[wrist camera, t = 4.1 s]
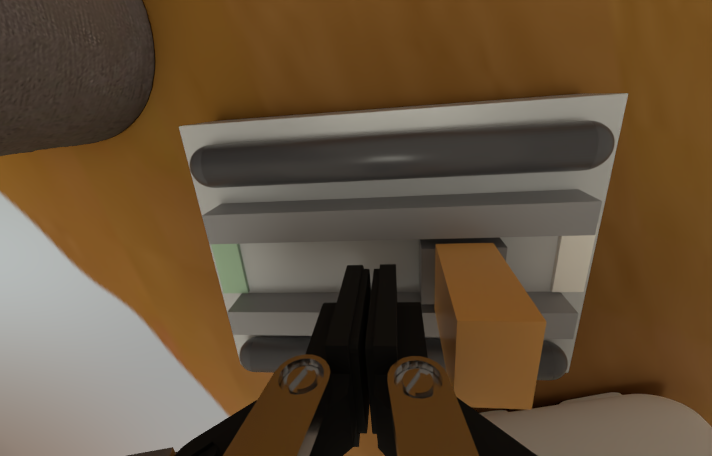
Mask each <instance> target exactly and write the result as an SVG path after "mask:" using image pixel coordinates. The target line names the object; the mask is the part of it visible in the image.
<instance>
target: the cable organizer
mask: <svg viewBox="0 0 712 456" xmlns="http://www.w3.org/2000/svg"><path fill="white" fill-rule="evenodd" d="M480 414H481V415H482V416H484V417H485V418H486V419H488V420H489V421H490V422H492V423H493V424H495V425H496V426H497V427H499V428H500V429H501V430H503V431H504V432H506V433H507V434H508V435H510V436H511V437H512V438H514V439H515V440H517V441H518V442H519V443H521V444H522V445H523V446H525V447H526V448H528V449H529V450H530V451H532V452H533V453H534V454H536V455H537V456H712V427H711V426H710V425H709V424H708V423H707V422H706V421H705V420H704V419H703V418H702V417H701V416H700V415H699V414H698V413H697V412H695V411H694V410H692V409H691V408H689V407H687V406H686V405H684V404H682V403H679V402H677V401H675V400H672V399H668V398H665V397H661V396H656V395H650V394H627V395H622V394H621V393H617V392H610V393H604V394H598V395H593V396H587V397H582V398H576V399H571V400H566V401H563V402H561V403H560V404H559V405H553V406H546V407H539V408H533V409H532V410H527V409H526V410H519V411H512V412H508V411H506V410H494V411H488V412H481V413H480Z"/></svg>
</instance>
